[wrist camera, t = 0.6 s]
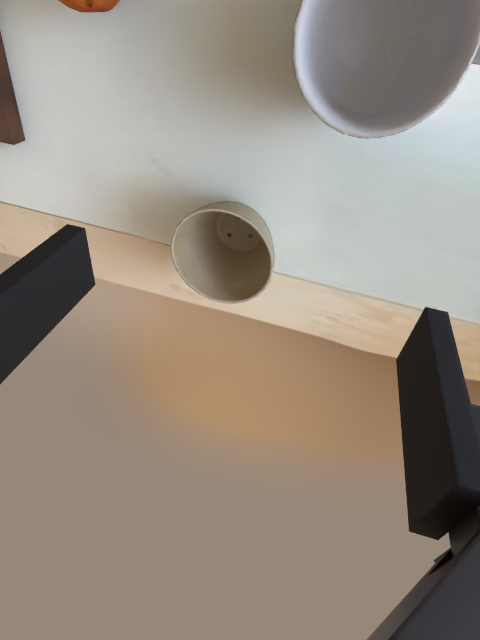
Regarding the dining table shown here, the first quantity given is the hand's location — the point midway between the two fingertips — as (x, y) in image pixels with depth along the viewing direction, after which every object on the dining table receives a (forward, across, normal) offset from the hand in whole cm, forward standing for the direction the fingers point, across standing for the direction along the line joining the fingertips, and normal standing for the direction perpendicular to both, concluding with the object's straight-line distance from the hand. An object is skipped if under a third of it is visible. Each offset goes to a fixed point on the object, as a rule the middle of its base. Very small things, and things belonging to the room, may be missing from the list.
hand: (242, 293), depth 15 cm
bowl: (+25, -6, -11) cm, 28 cm away
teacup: (+25, +5, +7) cm, 27 cm away
